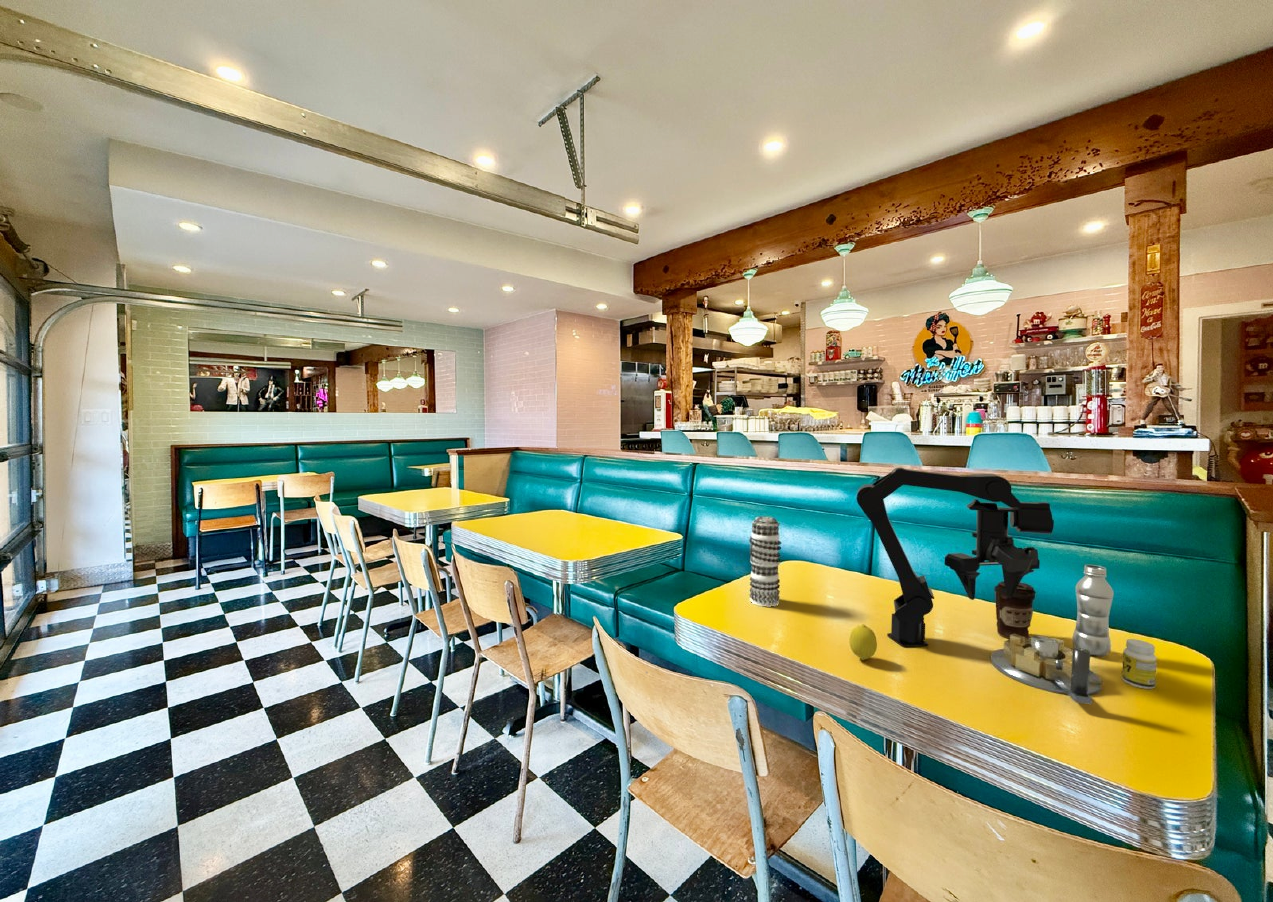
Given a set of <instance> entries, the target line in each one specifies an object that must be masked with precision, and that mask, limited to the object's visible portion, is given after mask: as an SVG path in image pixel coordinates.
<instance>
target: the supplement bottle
mask: <svg viewBox="0 0 1273 902" xmlns="http://www.w3.org/2000/svg"><path fill="white" fill-rule="evenodd" d="M1155 647H1156V646H1155V645H1154V644H1153V643H1150V642H1147V641H1146V640H1145V641H1144V640H1141V639H1136V638H1128V639H1126V643H1125V648H1124V649H1123V652H1122V654H1123V655H1122V672H1121V679H1122V681H1123V682H1125V683H1126V684H1128V685H1130V686H1133V687H1136V688H1140V689H1145V690H1152V689H1155V688H1156V679H1157V678H1156V677H1157V676H1156V675H1157V664H1158V663H1157V661H1158V660H1157V659H1158V658H1157V656H1156V655H1155V652H1156V651H1155V650H1156V649H1155Z"/></svg>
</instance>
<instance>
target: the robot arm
mask: <svg viewBox="0 0 1273 902" xmlns="http://www.w3.org/2000/svg"><path fill="white" fill-rule="evenodd" d="M903 486H910V487H918V488H927V489H934V490H940V491H941V490H943V491H950V492H957V493H958V492H959V493H962V494H965V495H969V496H972V497H976V498H974V499H973V500H972V501H971V502H970V503H968V504H966V508H967V509H968V510H970V511H976V531H975V532H974V531H973V532H972V535H971V537H972V538H976V542H975V545H976V546H975V549H971V555H969V554H966V553H963V552H955V553H954V552H951V553H947V554H946V555H945V557H944V566H946V567H948V568H949V569H950V570H953V571H954V572H955V575H957V578H958V579H959V581H960V583H961V584H962V586H963V589H964V591H965V594H967V597H968V598H969V599H970V600H971V601H974V600H975V598H976V584H977V583H976V582H977V581H976V579H977V578H978V577H979V576H980V575H981V572H979V569H980V567H981V566H1000V565H1001V569H1002V579H1003V581H1004V586H1005V591H1006V595H1007V597H1009V598H1012V597H1013V595H1014V593H1015V591H1016V589H1017V587H1018V585H1019V583H1021V581H1022V579H1023V578H1024V577H1025V576H1027V575H1028V574H1031V573H1034V572H1035V570H1040V568H1041V567H1040V564H1041V563H1040V559H1039V551H1038V549H1036V548H1035V547H1033V546H1025V547H1023V548H1022V547H1017V546H1016V545H1015V541H1014V539H1013V538H1014V537H1013V536H1009V525H1010V527H1011V528H1015V529H1016V530H1015V531H1016V532H1018V533H1029V534H1044V535H1045V534H1046V535H1051V534H1052V533H1053V530H1054V527H1055V526H1054V525H1055V524H1054V523H1055V519H1053V513H1052V511H1051V503H1048V502H1046V501H1037V502H1035V501H1034V502H1028V501H1020V500H1019V499H1018V498H1017V496H1015V494H1013V492H1012V485H1011V483H1010V481H1008V480H1007V478H1004V477H1002V476H1000V475H997V474H994V473H974V474H951V473H942V472H935V471H925V470H918V469H909V468H904V467H901V466H900V467H896V468H893V470H892V471H890V472H889V473H888V474H886V475H884V476H883V477H881V478H879V479H878V480H876V481H874V482H873V483H872V484H871V483H868V484H864V485H861V486H860V487H859V489H858V490H857V493H856V503H857V504H858V506H859V507H860V509H861V510H862V512H863V513H864V515H865V516H866V517H867V519H868V520H869V521H870V522H871V523H872V525H873V527H874V528H875V531H876V532H877V535H878V537H879V540H880V542H881V544H882V545H883V548H884V550H885V552H886V554H887V557H888V559H889V560H890V563H891V565H892V567H893V569H894V572H895V574H896V575H897V578H898V580H899V585H900V588H901V589H900V590H901V593H902V594H901V595H899V596H898V597H897V598H895V599H894V600H893V606H894V607H893V608H894V613H891V624H890V625H891V628H890V630H891V631H890V632H888V633H886V636H887V637H888V638H890V639H891V640H893V641H894V642H896V643H897V644H899V645H900V646H902V647H905V648H906V647H908V648H909V647H924V646H928V645H929V643H928V642H926V641H925V639H926V623H925V615H928V614H929V613H931V612H932V610H933V608H934V602H933V600H935V596H934V593H933V591H932V588H930V586H928V582H927V579H926V576H925V575H924V574H923V575H920V576H919V575H917V572H915V571H914V569H913V567H912V565H911V563H910V561H909V559H908V557H907V555H906V552H905V550H904V548H903V545H902V544H901V541H900V540H899V538H898V536H897V534H896V531H895V530H894V527H893V525H892V523H891V520H890V519H889V515H888V512H887V508H886V504H885V499H886V498H887V497H889V496H890V495H892V494H893V493H895V492H896V491H897V490H899V489H900V488H901V487H903ZM977 498H978V499H977ZM979 499H980V500H981V499H982V500H985V501H987V502H984V501H982V502H980V500H979ZM1000 502H1001V503H1003V504H1004V505H1006V506H1007V507H1006V506H1005V507H1002V506H998V505H997V503H1000ZM972 555H973V556H972Z"/></svg>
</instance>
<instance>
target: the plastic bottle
mask: <svg viewBox="0 0 1273 902" xmlns="http://www.w3.org/2000/svg"><path fill="white" fill-rule="evenodd" d="M1083 569H1084V570H1083V574H1084V576H1083V577H1082V578H1081V579H1079V581H1078V582H1077V583H1076V585H1075V596H1076V605H1077V607H1076V608H1077V609H1076V610H1077V612H1076V613H1077V614H1076V615H1077V617H1076V622H1075V628H1074V631H1073V635H1072V643H1073V645H1074V647H1079V648H1083V649H1086V650H1089V651H1090V656H1091V655H1093V656H1099V657H1103V656H1104V657H1105V656H1107V655H1108V654H1109V653H1110V651H1111V648H1112V647H1111V646H1112V644H1111V637H1110V627H1109V625H1110V624H1109V620H1110V619H1109V618H1110V617H1109V616H1110V611H1111V607H1112V603H1113V598H1114V593H1115V592H1114V590H1113V588H1112V587H1111V585H1110V584H1109V583H1108V581H1107V580H1106V578H1107V568H1106V567H1103V566H1101V565H1095V564H1085V565H1084V568H1083Z"/></svg>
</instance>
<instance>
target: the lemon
mask: <svg viewBox="0 0 1273 902" xmlns="http://www.w3.org/2000/svg"><path fill="white" fill-rule="evenodd" d="M848 640H849V647H850V649H851V652H852V653H853V654H854V655H855V656H856V657H858V658H860V660H862V661H864V660H866V659H870V658H872V657H873V656H875V653H876V651H877V647H878V643H877V637H876V634H875V632H874V630H872V629H871V628H870V627H868V626H867V625H866V624H864V623H863V624H861V625H857V626H855V627H854V628H853V629H852V630H851V632H850V635H849V639H848Z"/></svg>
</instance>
